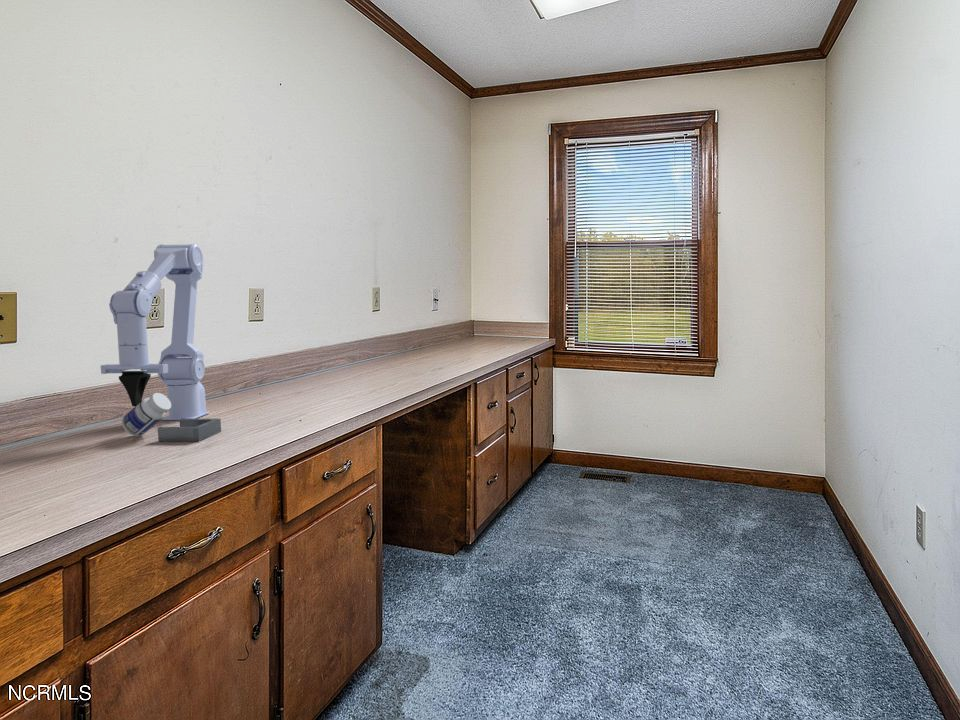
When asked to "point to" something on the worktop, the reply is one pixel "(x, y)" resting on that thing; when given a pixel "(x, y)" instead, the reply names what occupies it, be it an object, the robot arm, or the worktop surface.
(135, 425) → the pill bottle
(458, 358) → the worktop surface
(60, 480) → the worktop surface
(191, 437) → the metal u-channel bracket
